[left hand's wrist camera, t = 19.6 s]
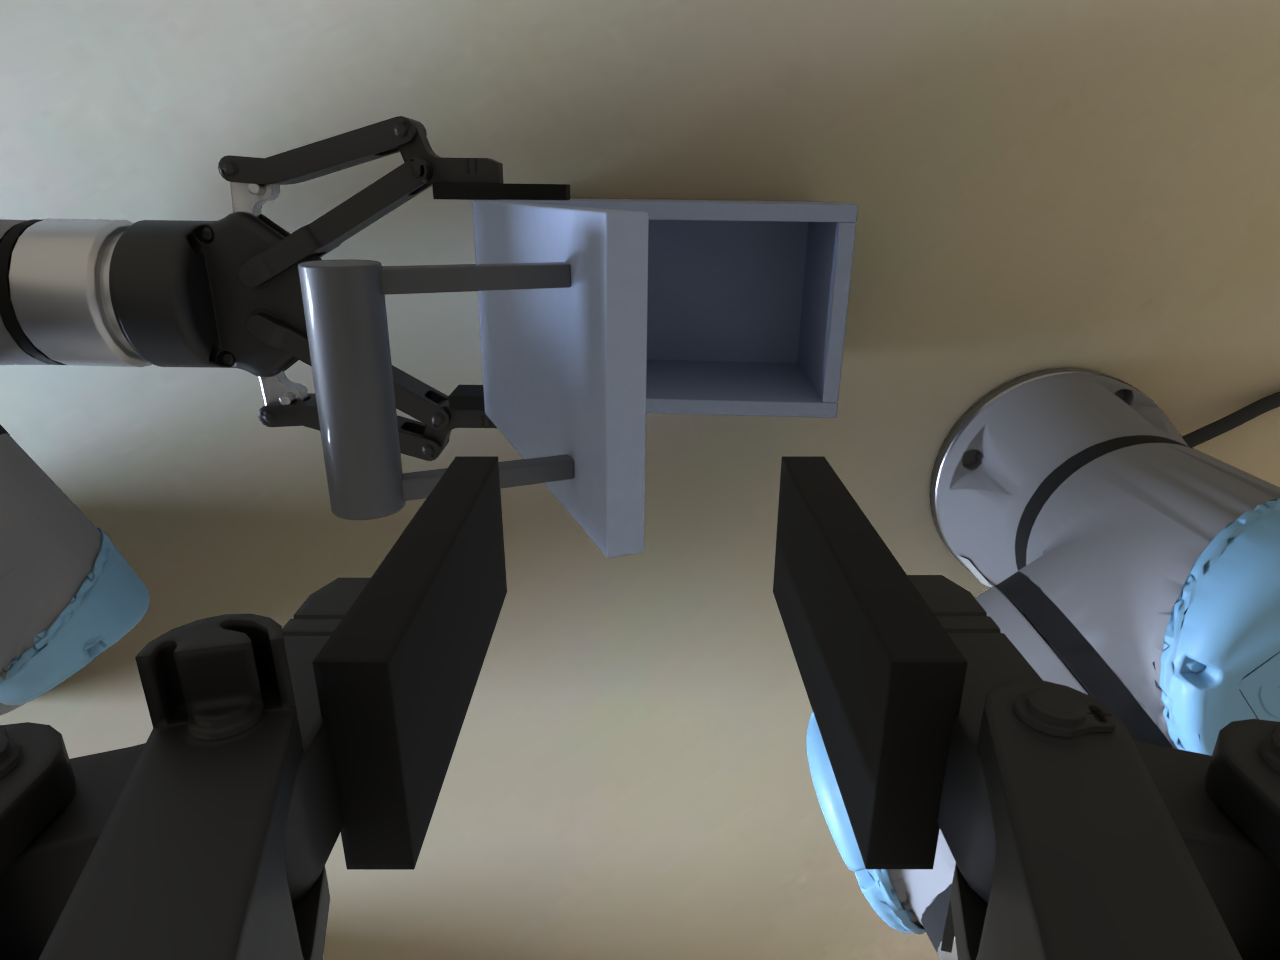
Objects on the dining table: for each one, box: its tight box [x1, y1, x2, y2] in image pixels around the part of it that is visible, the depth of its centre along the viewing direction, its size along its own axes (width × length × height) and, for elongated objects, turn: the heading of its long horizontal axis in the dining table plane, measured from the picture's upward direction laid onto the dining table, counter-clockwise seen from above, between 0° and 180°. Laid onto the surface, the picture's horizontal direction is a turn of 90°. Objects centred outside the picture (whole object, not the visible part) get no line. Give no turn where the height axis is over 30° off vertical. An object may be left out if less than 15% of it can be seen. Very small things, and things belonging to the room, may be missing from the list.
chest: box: [498, 198, 858, 418], centre depth 42 cm, size 17×10×10 cm, turn 89°
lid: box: [298, 200, 649, 558], centre depth 28 cm, size 18×10×9 cm
